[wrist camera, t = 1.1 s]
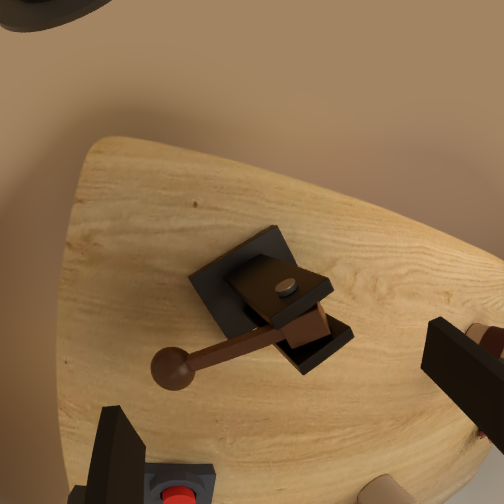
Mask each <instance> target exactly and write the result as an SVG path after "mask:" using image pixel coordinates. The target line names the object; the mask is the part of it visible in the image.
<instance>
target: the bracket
mask: <svg viewBox="0 0 504 504" xmlns="http://www.w3.org/2000/svg"><path fill="white" fill-rule="evenodd" d="M188 278H189V280H190V281H191V283H192V284H193V286H194V288H195V289H196V291H197V292H198V294H199V295H200V297H201V299H202V300H203V302H204V303H205V305H206V306H207V308H208V310H209V311H210V313H211V314H212V316H213V317H214V319H215V320H216V322H217V323H218V325H219V326H220V328H221V329H222V331H223V332H224V334H225V335H226V337H227V338H228V340H229V339H232V338H235V337H237V336H240V335H242V334H245V333H247V332H250V331H252V330H253V329H255V328H256V327H257V329H258V328H260V327H263V326H265V325H268V324H270V325H271V326H272V327H273V328H274V329H276V330H279V329H281V328H282V327H284V326H285V325H287V324H288V323H290V322H291V321H292V320H294V319H295V318H297V317H298V316H300V315H301V314H302V313H304V312H305V311H307V310H308V309H310V308H311V307H312V306H314V305H315V304H316V303H318V302H319V301H321V300H322V299H323V298H325V297H326V296H327V295H329V294H330V293H332V292H333V291H334V288H333V286H332V284H331V282H330V280H329V278H327V277H325V276H322V275H319V274H316V273H314V272H311V271H308V270H305V269H303V268H300V267H298V265H297V263H296V261H295V259H294V257H293V255H292V253H291V252H290V250H289V248H288V246H287V244H286V242H285V240H284V238H283V236H282V234H281V232H280V230H279V228H278V226H277V225H272V226H270V227H268V228H267V229H265V230H264V231H262V232H260V233H259V234H257V235H255V236H254V237H252V238H250V239H249V240H247V241H245V242H244V243H242V244H241V245H239V246H237V247H236V248H234V249H232V250H231V251H229V252H228V253H226V254H224V255H223V256H221V257H219V258H218V259H216V260H215V261H213V262H211V263H210V264H208V265H206V266H205V267H203V268H202V269H200V270H198V271H197V272H195V273H193V274H192V275H190V276H189V277H188ZM325 314H326V313H325ZM326 317H327V321H328V325H329V329H330V334H329V335H327V336H324V337H322V338H320V339H317V340H315V341H312V342H310V343H307V344H305V345H302V346H300V347H297V348H295V349H292V348H291V347H290V345H289V343H288V342H287V340H286V339H284V340H282V341H279V342H277V343H274V344H273V345H274V346H275V347H276V348H277V349H278V350H279V351H280V352H281V354H282V355H283V356H284V357H285V358H286V359H287V360H288V361H289V362H290V363H291V364H292V365H293V366H294V367H295V368H296V369H297V370H298V371H299V372H300V373H301V374H302V375H305V374H307V373H308V372H309V371H311V370H312V369H313V368H315V367H316V366H318V365H319V364H320V363H322V362H323V361H324V360H326V359H327V358H328V357H330V356H331V355H332V354H334V353H335V352H336V351H338V350H339V349H340V348H341V347H343V346H344V345H345V344H346V343H348V342H349V341H350V340H351V339H353V338H354V334H353V332H352V330H351V327H350V326H348V325H346V324H344V323H342V322H341V321H339V320H337V319H335V318H333V317H332V316H330V315H328V314H326Z"/></svg>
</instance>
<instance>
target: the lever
mask: <svg viewBox="0 0 504 504" xmlns="http://www.w3.org/2000/svg"><path fill="white" fill-rule="evenodd" d="M329 334H330V329H329V325H328V321H327V317H326V314H325V312H324V310H323V308H322V306H321V304H320V302H318V303H316V304H315V305H314V306H312V307H311V308H310V309H308V310H307V311H305V312H304V313H302V314H301V315H300V316H298V317H297V318H295V319H294V320H292V321H291V322H290V323H288V324H287V325H285V326H284V327H282V328H281V329H279V330H276V329H274V328H273V327H272V326H271V325H270V324H268V325H265V326H263V327H260V328H258V329H255V330H253V331H250V332H247V333H245V334H242V335H240V336H237V337H235V338H232V339H229V340H227V341H224V342H221V343H219V344H216V345H213V346H210V347H208V348H205V349H202V350H199V351H196V352H194V353H191V354H188V353H187V352H186V351H185V350H183V349H181V348H178V347H166V348H163V349H161V350H160V351H158V352H157V353H156V354H155V355H154V357H153V359H152V361H151V374H152V377H153V379H154V380H155V382H156V383H157V384H158V385H159V386H161V387H162V388H164V389H167V390H171V391H177V390H181V389H184V388H186V387H187V386H188V385H189V384H190V383H191V382H192V380H193V379H194V376H195V371H197V370H200V369H203V368H206V367H209V366H212V365H215V364H218V363H221V362H224V361H227V360H230V359H233V358H236V357H239V356H241V355H244V354H247V353H250V352H253V351H255V350H258V349H261V348H263V347H266V346H269V345H271V344H274V343H277V342H279V341H282V340H284V339H286V340H287V342H288V343H289V345H290V347H291V348H292V349H295V348H297V347H300V346H302V345H305V344H307V343H310V342H312V341H315V340H317V339H320V338H322V337H324V336H327V335H329Z"/></svg>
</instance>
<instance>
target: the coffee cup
mask: <svg viewBox="0 0 504 504" xmlns="http://www.w3.org/2000/svg"><path fill="white" fill-rule="evenodd" d="M466 335H467V336H468V337H469V338H471V339H472V340H473V341H475V342H476V343H477V344H479V345H480V346H481V347H482V348H484V349H485V350H486V351H488V352H489V353H490V354H491V355H493V356H494V357H495V358H497V359H499V358H500V357H502V358H504V328H499V327H495V326H487V325H483V324H479V323H476V324H473V325H472V326H471V327H470V328H469V330H468V331H467V333H466Z"/></svg>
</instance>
